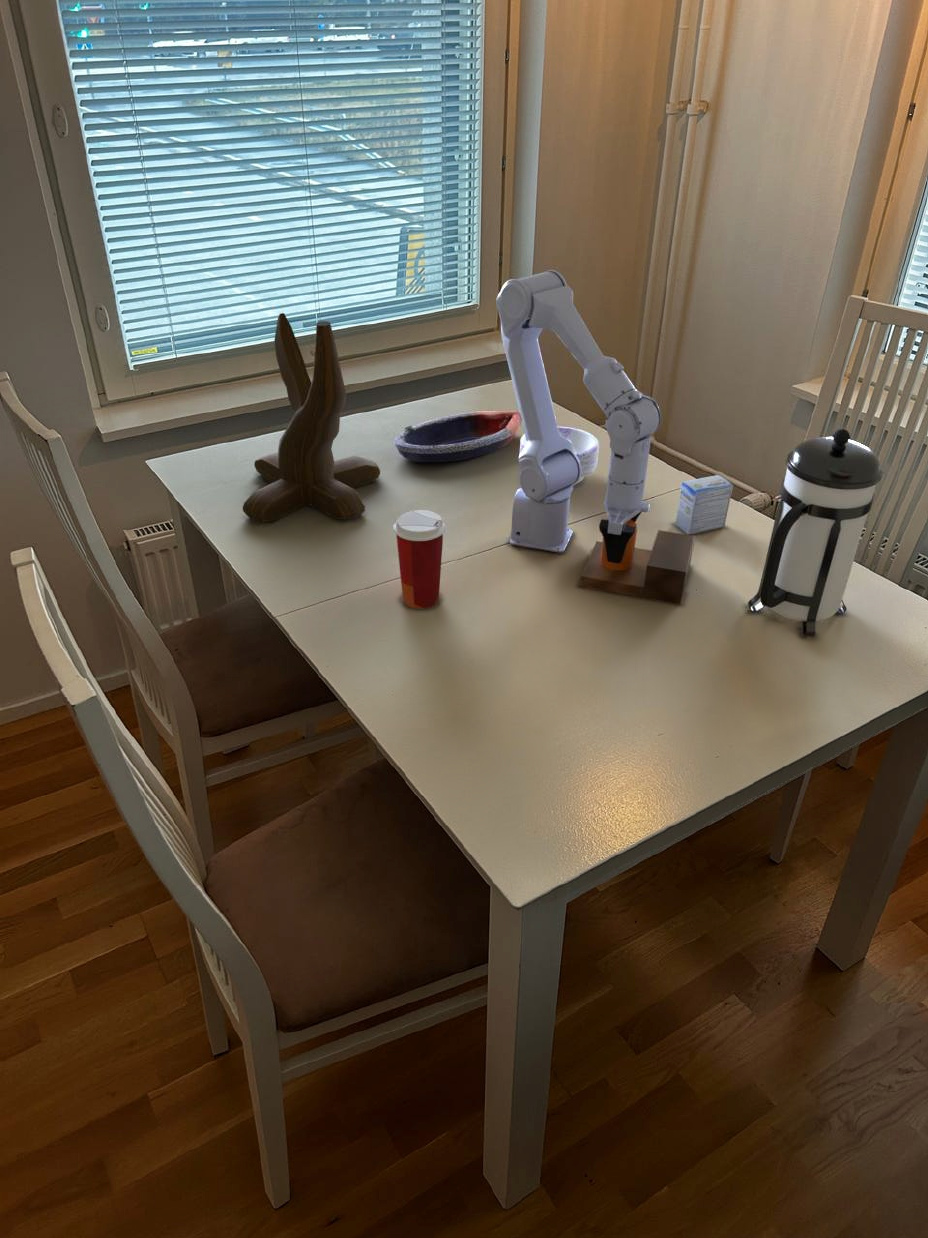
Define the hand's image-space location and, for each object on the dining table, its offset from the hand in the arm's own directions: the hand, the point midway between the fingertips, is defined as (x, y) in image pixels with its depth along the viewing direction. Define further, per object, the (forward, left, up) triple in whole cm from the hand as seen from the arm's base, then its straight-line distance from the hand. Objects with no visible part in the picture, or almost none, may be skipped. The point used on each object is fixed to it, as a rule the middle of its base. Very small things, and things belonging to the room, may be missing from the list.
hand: (617, 552), depth 149 cm
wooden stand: (-60, +9, -4) cm, 61 cm away
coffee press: (+28, -3, -4) cm, 29 cm away
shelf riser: (+3, 0, -4) cm, 5 cm away
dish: (-40, +39, -4) cm, 56 cm away
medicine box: (+11, +21, -4) cm, 24 cm away
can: (0, 0, -2) cm, 2 cm away
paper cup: (-28, -18, -4) cm, 33 cm away
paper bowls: (-18, +32, -4) cm, 37 cm away
